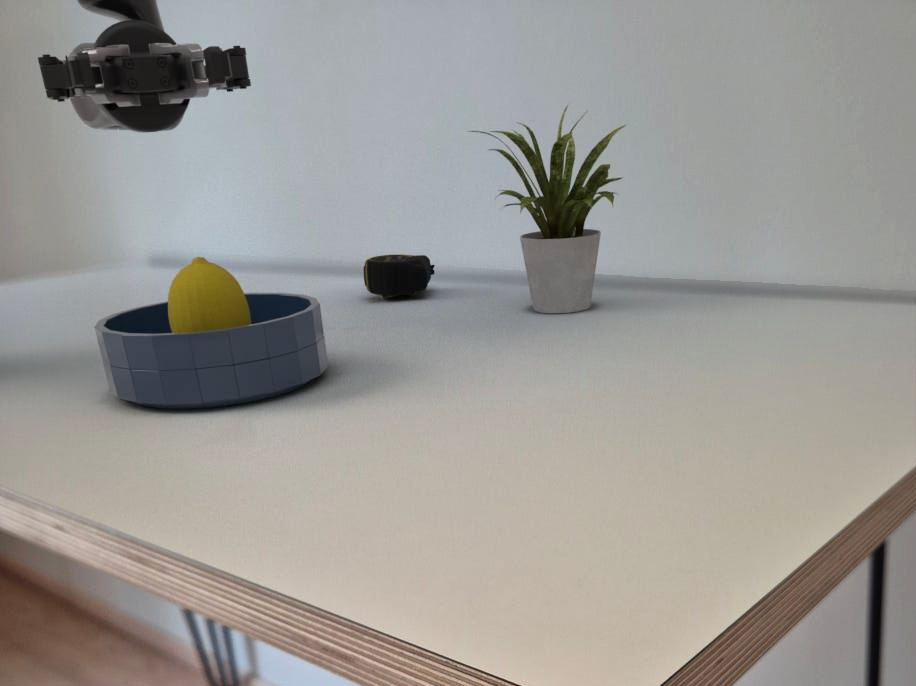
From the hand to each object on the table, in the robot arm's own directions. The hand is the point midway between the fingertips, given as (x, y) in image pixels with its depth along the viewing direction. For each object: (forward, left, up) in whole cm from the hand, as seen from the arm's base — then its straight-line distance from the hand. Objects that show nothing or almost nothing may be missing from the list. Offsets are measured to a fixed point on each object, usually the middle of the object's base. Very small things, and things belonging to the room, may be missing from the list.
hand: (153, 68), depth 65 cm
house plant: (+31, 0, -20) cm, 37 cm away
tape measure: (+26, +18, -20) cm, 37 cm away
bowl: (-1, -5, -20) cm, 21 cm away
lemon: (-1, -5, -20) cm, 20 cm away
